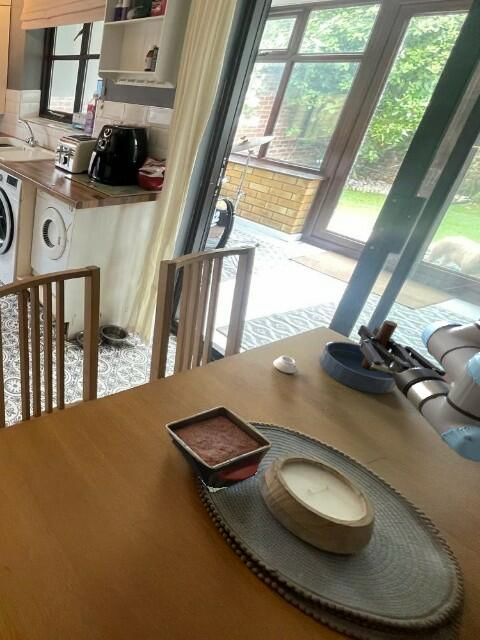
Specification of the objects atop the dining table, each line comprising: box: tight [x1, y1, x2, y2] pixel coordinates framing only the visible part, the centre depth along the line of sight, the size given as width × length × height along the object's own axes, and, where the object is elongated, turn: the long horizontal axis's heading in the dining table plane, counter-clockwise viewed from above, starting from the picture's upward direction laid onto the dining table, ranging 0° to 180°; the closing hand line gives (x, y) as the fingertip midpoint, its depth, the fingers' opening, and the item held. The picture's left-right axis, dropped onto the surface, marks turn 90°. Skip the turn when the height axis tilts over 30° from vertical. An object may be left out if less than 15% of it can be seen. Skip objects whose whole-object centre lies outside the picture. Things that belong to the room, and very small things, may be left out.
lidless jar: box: [272, 355, 297, 374], centre depth 110 cm, size 5×3×5 cm
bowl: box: [318, 341, 397, 394], centre depth 107 cm, size 15×15×5 cm
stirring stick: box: [361, 319, 398, 371], centre depth 103 cm, size 2×2×14 cm
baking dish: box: [164, 405, 273, 488], centre depth 83 cm, size 14×18×10 cm
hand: (368, 330), depth 107 cm, fingers closed on stirring stick, 2 cm apart
